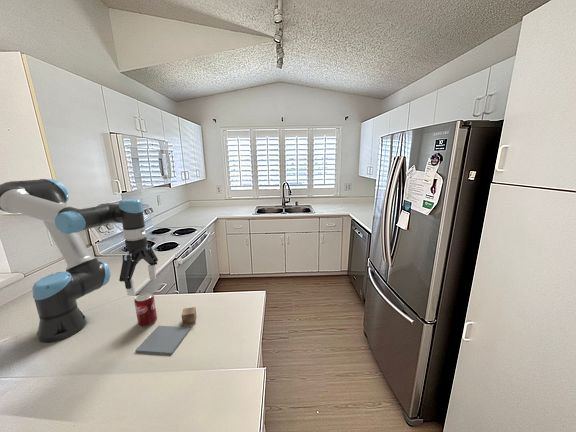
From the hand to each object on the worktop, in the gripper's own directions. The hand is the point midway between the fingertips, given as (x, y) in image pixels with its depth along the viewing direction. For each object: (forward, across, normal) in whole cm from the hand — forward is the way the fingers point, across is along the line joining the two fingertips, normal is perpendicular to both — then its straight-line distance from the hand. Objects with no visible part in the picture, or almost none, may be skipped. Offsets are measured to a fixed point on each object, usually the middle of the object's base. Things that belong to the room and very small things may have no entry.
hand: (143, 286), depth 105 cm
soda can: (+17, 0, 0) cm, 17 cm away
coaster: (+16, -10, -14) cm, 24 cm away
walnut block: (+16, +2, -18) cm, 24 cm away
